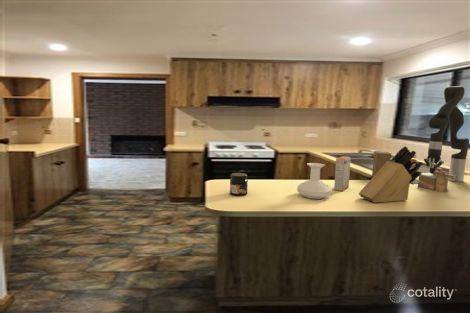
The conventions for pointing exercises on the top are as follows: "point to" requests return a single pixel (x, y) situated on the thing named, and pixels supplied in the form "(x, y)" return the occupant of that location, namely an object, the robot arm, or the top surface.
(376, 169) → the wooden block
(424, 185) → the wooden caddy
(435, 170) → the lid
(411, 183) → the mat
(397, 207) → the top surface
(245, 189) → the supplement container
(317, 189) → the white vase
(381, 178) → the knife block
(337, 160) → the cracker box
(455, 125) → the robot arm
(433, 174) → the wooden peg
